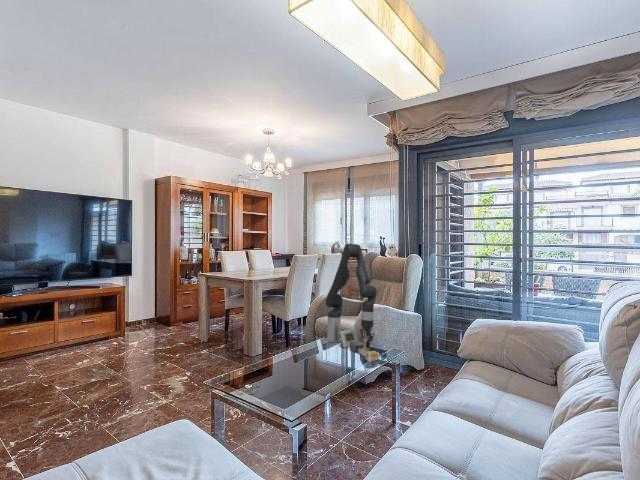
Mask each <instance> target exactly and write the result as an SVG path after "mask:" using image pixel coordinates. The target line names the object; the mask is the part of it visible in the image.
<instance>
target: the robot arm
mask: <svg viewBox="0 0 640 480" xmlns="http://www.w3.org/2000/svg"><path fill="white" fill-rule="evenodd" d="M349 259H355V260H356V262H357V265H356V269H355V276H356V278H357V282H358V290H359V291H358V292H359V296H361V298H365V299H366V298H367V299H366V300H365V301H363V302H362V303H361V313H360V314H361V317H360V327H362V328H361V329H360V336H361V339H362V340H363V341H364V339H366V348H369V349H370V347H371V343H372V342H373V340H374V336H375V333H374V332H372V331H373V329H372V328H373V327H374V320H375V319H374V318H375V317H374V315H375V313H374V306H375V302H376V298H377V293H378V292H377V288H376V286H373V285H368V284H369V283H370V277H369V274H368V272H367V270H366V265H365V259H364V255H363V250H362V247H361V245H360V244H358V243H347V244H345V245H344V247H343V250H342V254H341V257H340V262H339V264H338V267H337V270H336V273H335V275H334V279H333V282H332V284H331V287H330V289H329V291H328V293H327V295H326V298H325V305H326V306H327V307H328V308H333V309H332V310H331V311H329V312H327V331H326V333H327V335H326V341H327V342H329V343H340V341H341V337H340V332H341V322H342V321H341V319H342V316H341V315H342V311H343V296H342V295H341V294H339V293H338V292H340V290H341V289H342V288H344V287H345V286H346V285H347V283H348V281H349V278H350V275H351V273H350V269H349ZM370 342H371V343H370Z"/></svg>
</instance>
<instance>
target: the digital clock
mask: <svg viewBox="0 0 640 480" xmlns="http://www.w3.org/2000/svg"><path fill="white" fill-rule="evenodd" d="M350 342H360V341H359V338H358V333H357V330H356V328H349V329H344V330H340V342H339V344H340V345H339V346H340V347H342V348H343V349H348V348H349V349H350Z"/></svg>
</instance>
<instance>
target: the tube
mask: <svg viewBox="0 0 640 480" xmlns="http://www.w3.org/2000/svg"><path fill="white" fill-rule="evenodd" d="M363 344H364V348H362V347H360V346H356V353H358V354H359V355H362V356H363V357H365V352H369V351H370V348H366V339H364V340H363Z"/></svg>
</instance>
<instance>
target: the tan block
mask: <svg viewBox="0 0 640 480" xmlns="http://www.w3.org/2000/svg"><path fill="white" fill-rule="evenodd" d="M377 359H379V360H380V352H378V351H376V350H372V351H371V350H369V352H365V356H364V360H366V361H367V362H375V361H374V360H377Z"/></svg>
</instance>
